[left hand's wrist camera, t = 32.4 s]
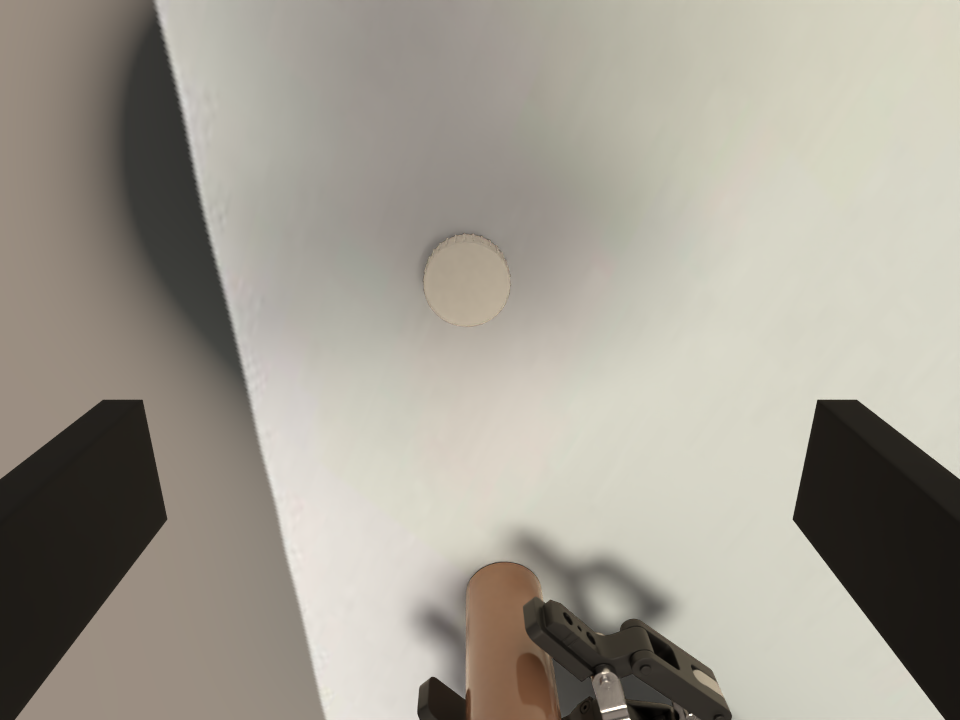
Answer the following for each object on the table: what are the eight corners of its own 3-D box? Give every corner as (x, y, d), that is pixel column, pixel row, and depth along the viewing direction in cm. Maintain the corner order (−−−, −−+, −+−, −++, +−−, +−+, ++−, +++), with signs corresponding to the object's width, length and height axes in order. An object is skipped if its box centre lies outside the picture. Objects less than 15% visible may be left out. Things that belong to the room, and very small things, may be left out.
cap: (473, 330, 31) (474, 344, 29) (408, 281, 30) (404, 292, 28) (525, 268, 30) (529, 278, 28) (460, 215, 29) (459, 222, 27)
